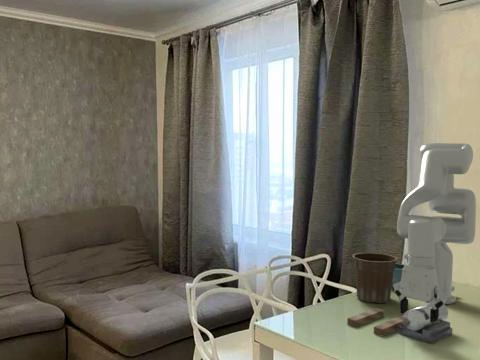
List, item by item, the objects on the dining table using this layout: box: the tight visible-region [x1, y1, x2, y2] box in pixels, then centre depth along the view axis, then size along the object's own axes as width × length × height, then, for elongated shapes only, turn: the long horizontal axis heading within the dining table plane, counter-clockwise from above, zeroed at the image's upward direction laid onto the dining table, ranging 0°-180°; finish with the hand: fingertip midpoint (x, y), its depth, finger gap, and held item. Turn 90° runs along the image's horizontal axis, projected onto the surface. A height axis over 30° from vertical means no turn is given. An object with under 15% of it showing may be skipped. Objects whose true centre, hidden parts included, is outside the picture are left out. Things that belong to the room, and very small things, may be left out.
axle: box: [402, 303, 449, 331], centre depth 154 cm, size 16×6×6 cm, turn 131°
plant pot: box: [352, 252, 398, 304], centre depth 189 cm, size 16×16×16 cm
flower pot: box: [391, 263, 405, 289], centre depth 205 cm, size 9×9×9 cm
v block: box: [398, 320, 453, 345], centre depth 154 cm, size 12×11×4 cm
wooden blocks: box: [346, 307, 404, 337], centre depth 162 cm, size 16×13×2 cm
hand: (418, 316), depth 151 cm, fingers open, 9 cm apart
